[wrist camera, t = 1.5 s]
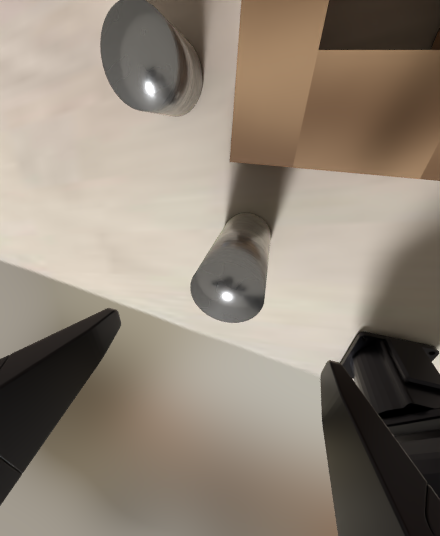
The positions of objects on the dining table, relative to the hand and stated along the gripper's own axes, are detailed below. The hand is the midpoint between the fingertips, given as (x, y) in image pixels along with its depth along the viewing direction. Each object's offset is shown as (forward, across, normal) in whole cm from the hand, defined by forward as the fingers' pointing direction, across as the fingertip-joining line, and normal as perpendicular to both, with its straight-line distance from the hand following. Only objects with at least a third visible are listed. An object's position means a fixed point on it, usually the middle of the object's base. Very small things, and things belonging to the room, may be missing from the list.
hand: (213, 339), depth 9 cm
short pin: (+11, +6, -10) cm, 16 cm away
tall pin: (+11, 0, 0) cm, 11 cm away
